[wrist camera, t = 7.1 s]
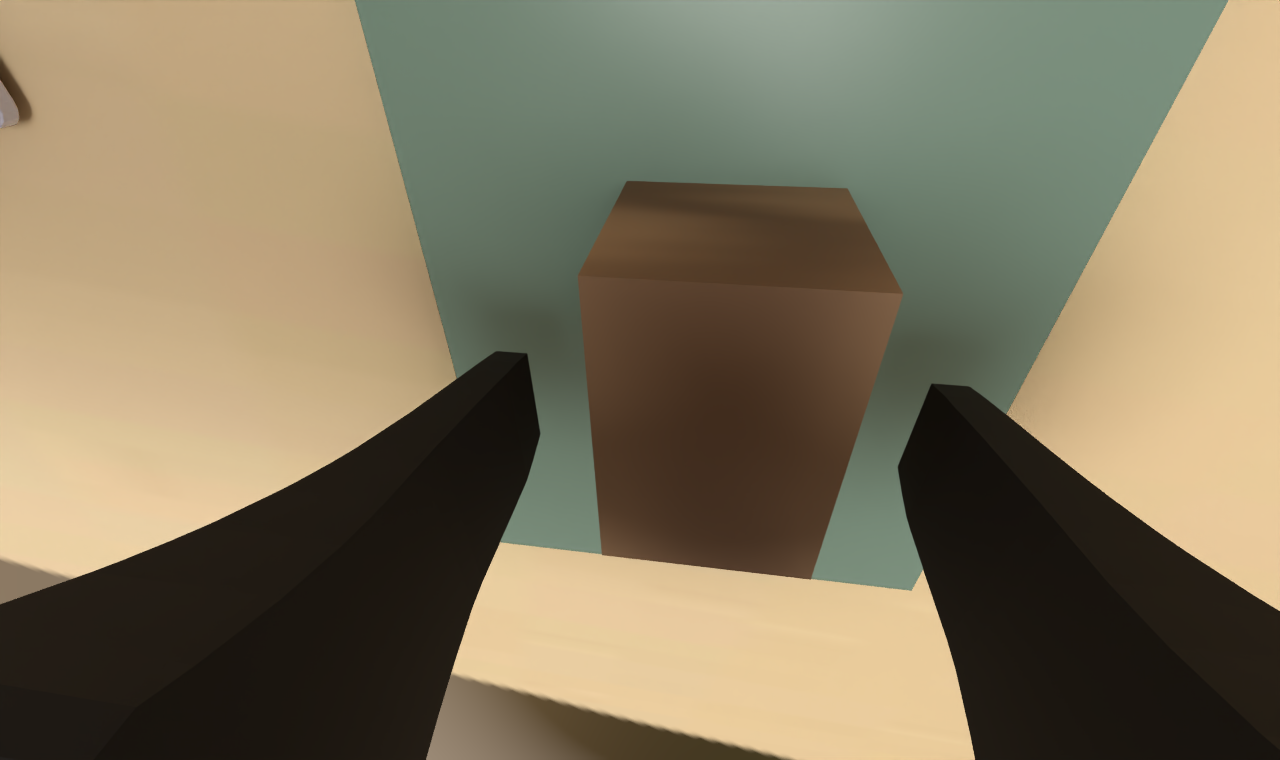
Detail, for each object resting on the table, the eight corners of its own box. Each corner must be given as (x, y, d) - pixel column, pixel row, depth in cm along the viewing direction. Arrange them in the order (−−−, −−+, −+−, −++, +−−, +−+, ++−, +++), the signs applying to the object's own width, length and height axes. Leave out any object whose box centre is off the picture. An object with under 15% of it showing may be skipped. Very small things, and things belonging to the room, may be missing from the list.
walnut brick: (632, 420, 14) (601, 554, 10) (626, 180, 10) (577, 275, 7) (792, 434, 13) (810, 579, 10) (847, 188, 10) (903, 294, 6)
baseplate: (507, 527, 18) (501, 542, 18) (325, -192, 8) (300, -203, 7) (906, 573, 17) (911, 590, 16) (1321, -243, 6) (1367, -261, 6)
